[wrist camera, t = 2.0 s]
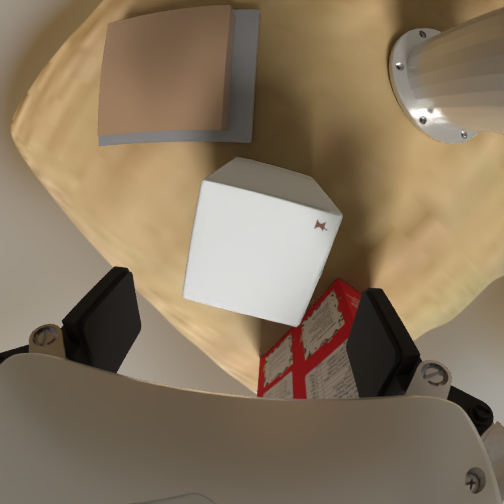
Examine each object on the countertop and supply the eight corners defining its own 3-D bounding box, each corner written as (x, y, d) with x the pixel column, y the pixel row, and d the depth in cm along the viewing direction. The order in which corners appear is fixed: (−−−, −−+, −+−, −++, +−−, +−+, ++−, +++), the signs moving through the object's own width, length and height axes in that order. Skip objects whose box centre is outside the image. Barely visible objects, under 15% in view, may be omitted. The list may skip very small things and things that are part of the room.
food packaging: (292, 374, 35) (293, 555, 12) (259, 359, 34) (241, 553, 11) (370, 300, 29) (448, 515, 7) (338, 277, 28) (409, 529, 6)
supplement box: (235, 154, 24) (201, 172, 13) (314, 176, 24) (349, 214, 13) (217, 227, 27) (178, 299, 16) (290, 247, 27) (300, 331, 16)
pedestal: (260, 15, 18) (257, -5, 14) (251, 142, 24) (247, 144, 20) (115, 31, 19) (92, 20, 15) (106, 145, 24) (81, 149, 20)
